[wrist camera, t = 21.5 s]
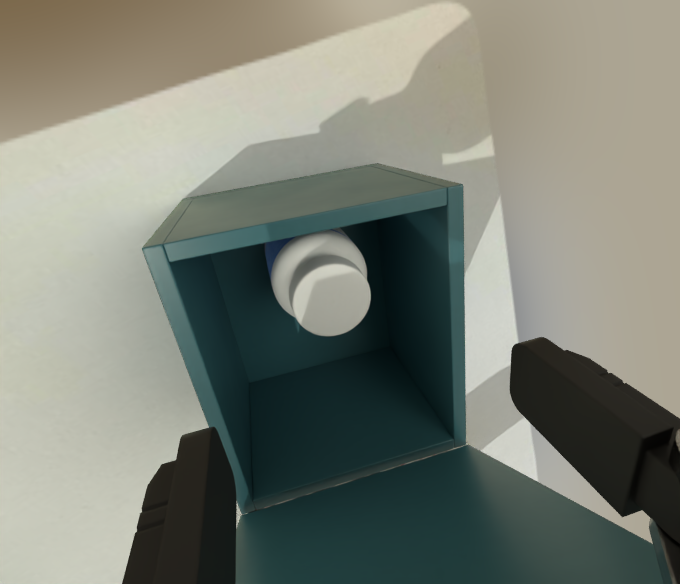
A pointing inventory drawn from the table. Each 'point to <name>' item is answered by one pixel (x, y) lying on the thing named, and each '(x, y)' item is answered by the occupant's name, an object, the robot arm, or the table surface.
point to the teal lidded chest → (314, 350)
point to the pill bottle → (320, 280)
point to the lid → (439, 532)
